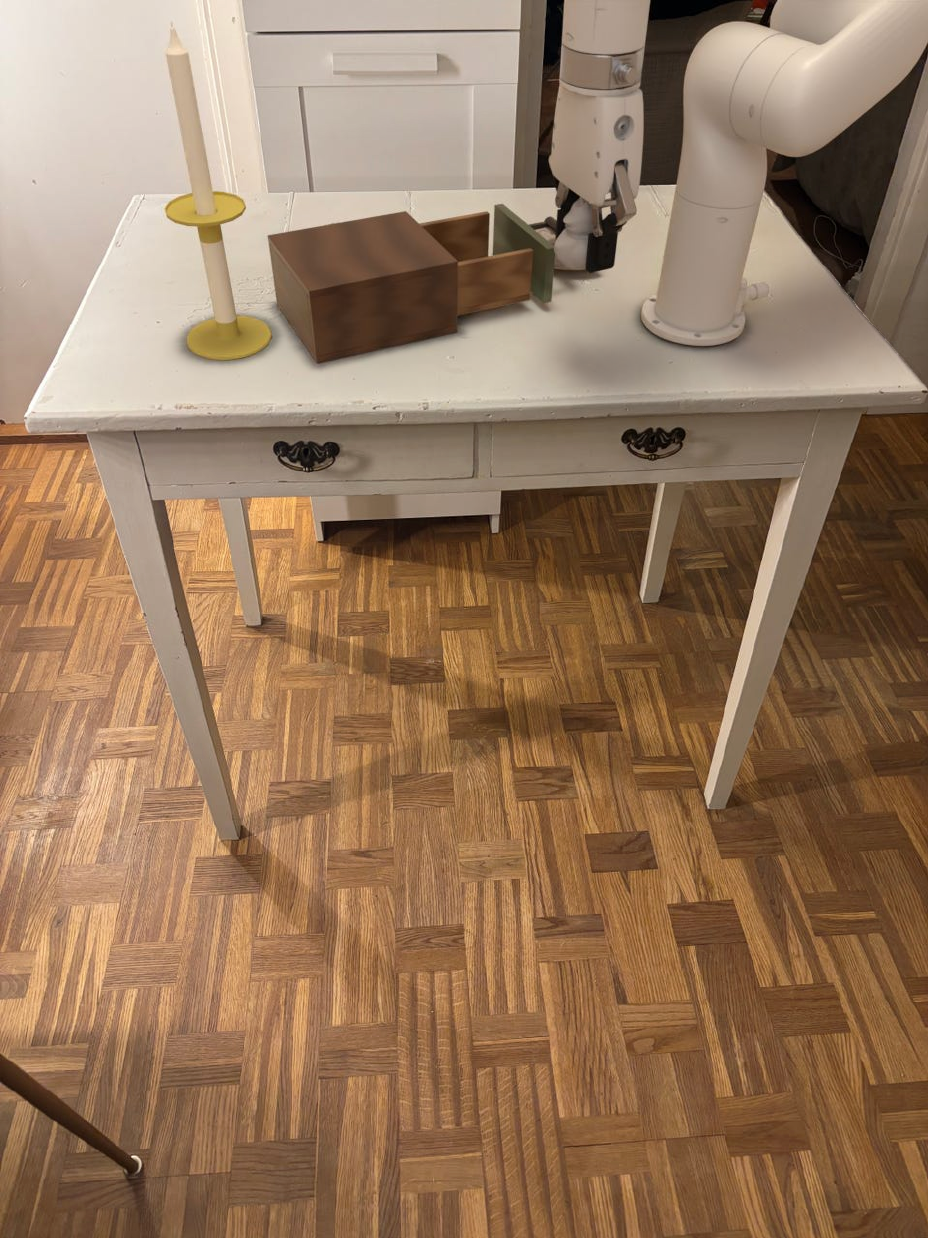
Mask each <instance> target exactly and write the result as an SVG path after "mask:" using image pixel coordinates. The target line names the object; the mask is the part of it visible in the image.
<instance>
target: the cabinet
mask: <svg viewBox="0 0 928 1238" xmlns="http://www.w3.org/2000/svg"><path fill="white" fill-rule="evenodd" d="M334 223H335V224H331V223H328V224H329V225H328V224H324V225H318V226H312V227H308V228H301V229H297V230H290V231H284V232H278V233H274V234H268V235H267V242H268V248H269V249H268V250H269V256H270V263H271V271H272V278H273V286H274V292H275V293H274V294H275V300H276V305H277V307H278V309H279V310H280V311H281V313H282V315H283V316H284V317H285V319H286V320H287V322H288V323H289V325H290V326H291V327H292V329H293V330H294V332H295V333H296V335H297V336H298V338H299V339H300V340H301V342H302V343H303V345H304V347H305V348H306V350H307V351H308V352H309V353H310V355H311V356H312V358H313V360H314V361H315V362H316V364H321V363H325V362H329V361H335V360H338V359H343V358H348V357H353V356H357V355H361V354H366V353H370V352H374V351H380V350H383V349H388V348H393V347H396V346H397V347H398V346H401V345H406V344H410V343H415V342H420V341H424V340H429V339H432V338H433V339H434V338H438V337H441V336H448V335H450V334H455V333H458V316H457V306H458V261H457V260H456V259H455V258H454V257H453V256H452V255H451V254H450V253H449V252H448V251H447V250H446V249H445V248H444V247H442V246H441V245H440V244H439V243H438V242H437V241H436V240H435V239H434V238H433V237H432V236H431V235H430V234H429V233H428V232H427V231H426V230H425V229H424V228H423V227H422V226H421V225H420V223H419V222H418V221H417V220H416V219H415V218H414V217H413V216H412V215H410V213H409V212H407V211H406V210H403V211H400V212H398V211H397V212H393V213H392V212H391V213H386V214H381V215H376V216H370V217H364V218H359V219H353V220H347V221H342V222H334Z"/></svg>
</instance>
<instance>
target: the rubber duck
mask: <svg viewBox="0 0 928 1238" xmlns="http://www.w3.org/2000/svg"><path fill="white" fill-rule="evenodd" d="M563 221H564V223H565V227H566V228H565V229H564V230H563V231H562V233H561V234H560V235H559V237H558V238H557V239H556V241H555V244H554V252H555V255H556V257H557V258H558V260H559V261H560V262H561V263H562V264H563V265H564V266H566V267H567V268H569V269H572V270H571V271H583V270H584V271H585V270H586V269H585V267H586V256H587V245H588V235H589V233H593V227H592V214H591V203H589V202H588V201H586V200H585V199H583V198H582V197H581V196H580V198H579V199H578V200H577V201H576V202H575V203H574V204H573V206H572V208H571V210H570V212H569V213H568V214H567V215H566V216H565V217H564V219H563Z"/></svg>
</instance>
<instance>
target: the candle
mask: <svg viewBox="0 0 928 1238" xmlns="http://www.w3.org/2000/svg"><path fill="white" fill-rule="evenodd" d="M170 26H171V27H170V28H169V43H168V47H167V49H166V50H165V57H166V63H167V67H168V73H169V78H170V83H171V88H172V94H173V99H174V103H175V109H176V115H177V120H178V124H179V130H180V135H181V141H182V145H183V151H184V156H185V162H186V166H187V172H188V176H189V183H190V187H191V193H187V194H184V195H180V196H177V197H176V198H174V199H172V200H170V201H169V202H168V203H167V204H166V206H165V207H164V213H165V215H166V217H167V219H168V220H170V221H171V222H173V223H174V224H178V225H182V226H186V227H196V228H197V233H198V237H199V243H200V249H201V253H202V259H203V264H204V269H205V275H206V279H207V285H208V290H209V296H210V301H211V305H212V311H213V316H214V317H213V318H210V319H208V320H204V321H202V322H200V323H199V324H197V325H195V326H194V327H192V328H191V329H190V331H189V333H188V334H187V336H186V339H185V340H186V345H187V348H188V349H189V350H190V351H191V352H192V353H193V354H195V355H196V356H198V357H202V358H205V359H208V360H218V361H230V360H237V359H238V360H239V359H243V358H247V357H249V356H252V355H255V354H257V353H259V352H261V351H262V350H263V349H264V348H266V347H267V346H269V344H270V343H271V341H272V337H273V334H272V331H271V328H270V326H269V325H268V324H267V323H265V322H264V321H262V320H261V319H258V318H254V317H251V316H247V315H237V311H236V305H235V301H234V300H235V299H234V294H233V288H232V283H231V277H230V272H229V267H228V260H227V254H226V249H225V244H224V238H223V232H222V225H224V224H228V223H230V222H233V221H235V220H237V219H238V218H240V217H241V216H243V214H244V213H245V211H246V208H247V206H246V203H245V201H244V199H243V198H242V197H240V196H238V195H237V194H235V193H230V192H226V191H217V190H213V185H212V178H211V174H210V173H211V172H210V167H209V162H208V156H207V151H206V145H205V140H204V139H205V138H204V133H203V129H202V123H201V118H200V117H201V116H200V111H199V105H198V100H197V95H196V89H195V83H194V77H193V71H192V66H191V60H190V54H189V50H188V49H187V48H186V47H185V46H184V45H183V44H182V42H181V40H180V38H179V36H178V34H177V33H178V32H177V30H176V28H175V27H174V26H173V20H170Z"/></svg>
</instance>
